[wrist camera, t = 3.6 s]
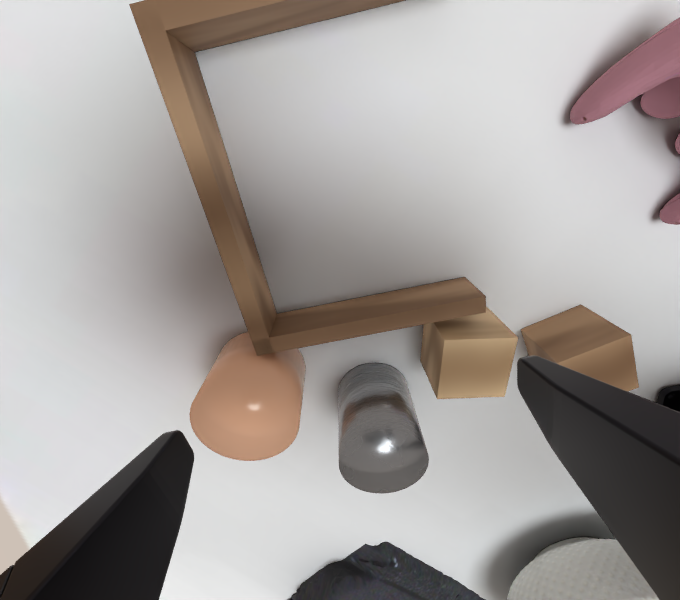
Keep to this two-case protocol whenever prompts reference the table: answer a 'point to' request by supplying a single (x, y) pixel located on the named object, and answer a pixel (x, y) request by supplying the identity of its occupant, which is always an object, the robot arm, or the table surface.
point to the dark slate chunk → (382, 579)
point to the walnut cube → (585, 346)
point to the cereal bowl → (581, 573)
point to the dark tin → (379, 430)
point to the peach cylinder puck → (249, 401)
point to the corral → (221, 190)
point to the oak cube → (468, 356)
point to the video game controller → (640, 90)
